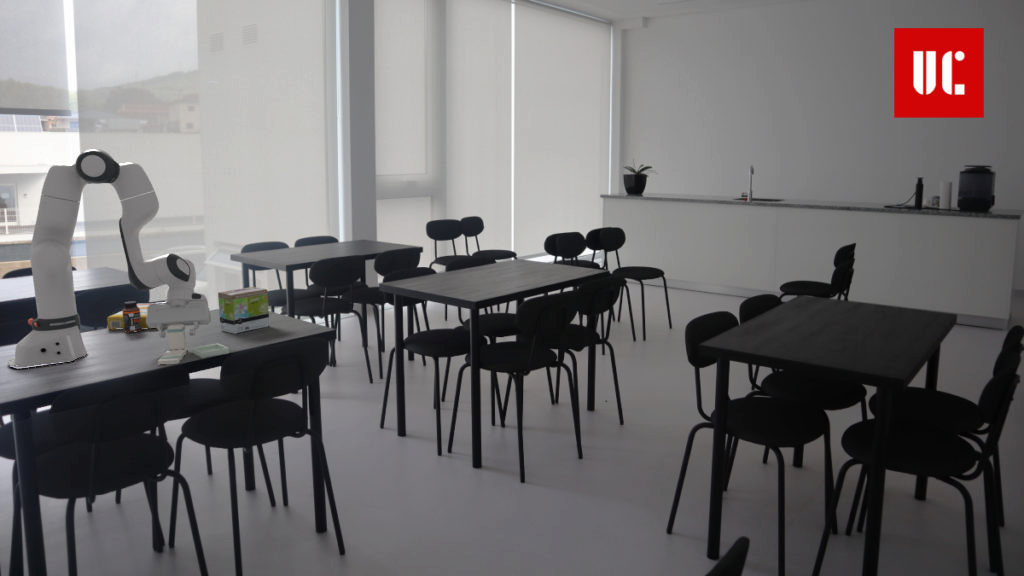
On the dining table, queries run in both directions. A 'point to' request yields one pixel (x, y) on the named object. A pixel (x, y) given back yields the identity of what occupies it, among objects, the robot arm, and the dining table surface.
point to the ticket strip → (172, 357)
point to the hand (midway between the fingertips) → (177, 335)
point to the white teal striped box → (177, 337)
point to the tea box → (243, 309)
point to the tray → (210, 350)
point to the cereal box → (117, 318)
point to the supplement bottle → (131, 317)
